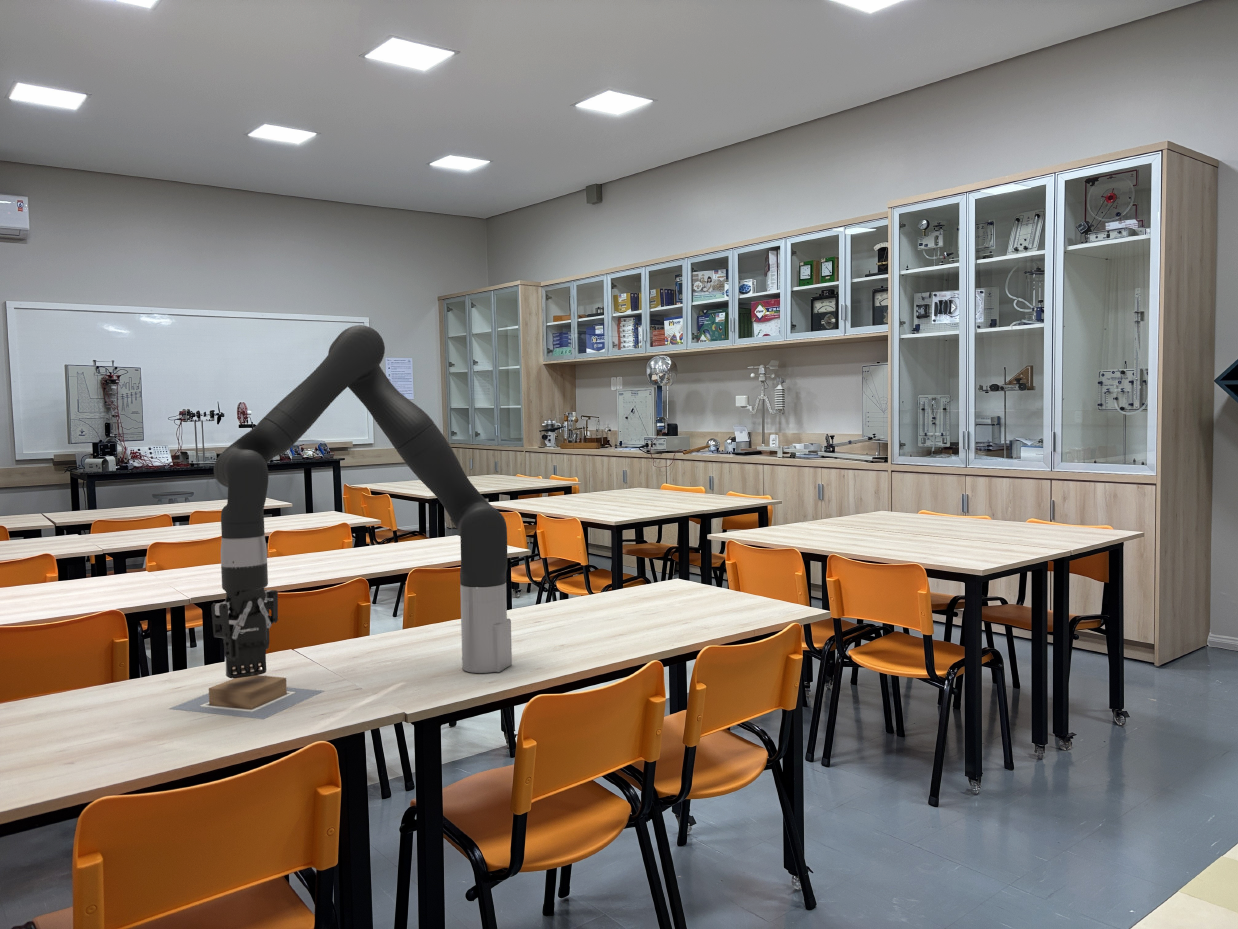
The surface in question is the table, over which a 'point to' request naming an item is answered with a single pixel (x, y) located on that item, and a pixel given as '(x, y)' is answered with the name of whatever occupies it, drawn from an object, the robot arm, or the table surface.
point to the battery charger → (249, 648)
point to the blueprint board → (259, 712)
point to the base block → (247, 691)
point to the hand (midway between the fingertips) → (247, 654)
